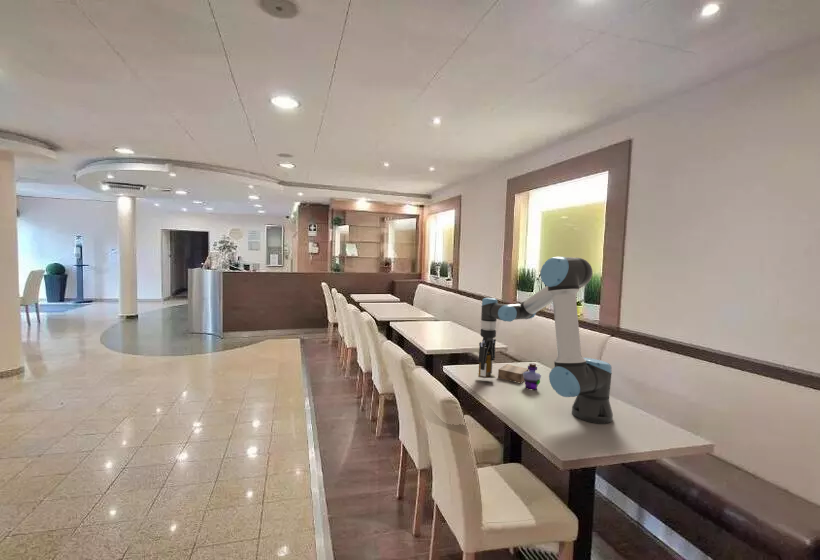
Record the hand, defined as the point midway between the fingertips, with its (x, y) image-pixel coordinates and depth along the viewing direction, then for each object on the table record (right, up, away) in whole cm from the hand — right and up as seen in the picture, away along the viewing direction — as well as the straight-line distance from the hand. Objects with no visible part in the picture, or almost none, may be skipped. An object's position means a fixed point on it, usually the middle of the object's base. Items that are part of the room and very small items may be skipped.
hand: (486, 374), depth 197 cm
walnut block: (+16, -4, +8) cm, 18 cm away
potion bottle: (+20, -5, -7) cm, 22 cm away
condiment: (0, -1, 0) cm, 1 cm away
